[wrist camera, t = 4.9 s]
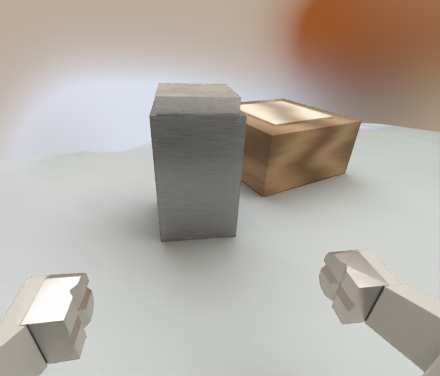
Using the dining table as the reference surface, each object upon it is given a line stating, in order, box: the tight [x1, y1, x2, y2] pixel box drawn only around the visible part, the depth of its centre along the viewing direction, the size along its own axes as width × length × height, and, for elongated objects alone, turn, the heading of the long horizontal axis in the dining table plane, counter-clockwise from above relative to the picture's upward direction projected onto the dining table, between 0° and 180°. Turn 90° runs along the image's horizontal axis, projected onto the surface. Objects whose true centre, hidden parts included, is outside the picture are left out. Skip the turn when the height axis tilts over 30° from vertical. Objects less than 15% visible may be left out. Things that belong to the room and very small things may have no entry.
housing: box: [149, 83, 247, 242], centre depth 19 cm, size 6×6×10 cm
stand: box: [240, 99, 361, 197], centre depth 30 cm, size 12×12×6 cm
